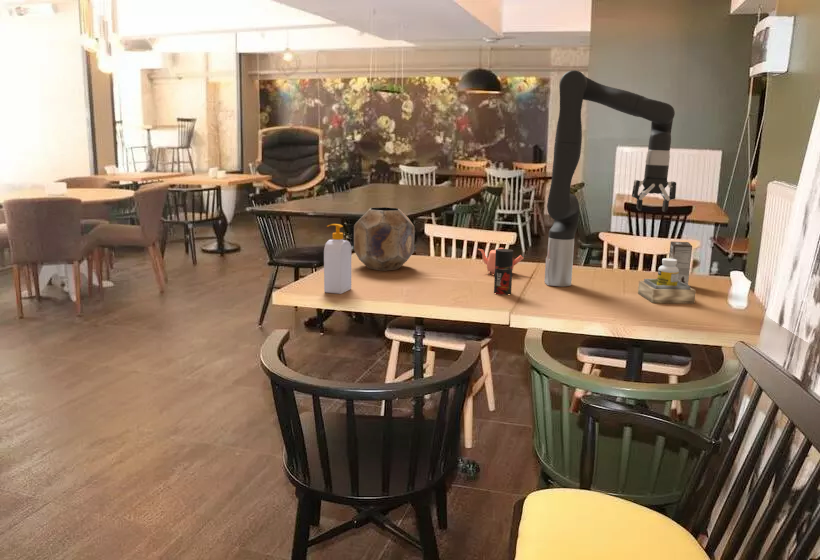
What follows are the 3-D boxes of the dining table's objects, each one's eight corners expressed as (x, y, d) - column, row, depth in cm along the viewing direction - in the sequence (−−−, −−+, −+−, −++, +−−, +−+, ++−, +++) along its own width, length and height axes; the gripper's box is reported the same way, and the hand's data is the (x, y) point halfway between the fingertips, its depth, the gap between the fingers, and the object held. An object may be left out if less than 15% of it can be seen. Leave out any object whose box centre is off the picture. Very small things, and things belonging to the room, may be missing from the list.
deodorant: (512, 292, 236) (514, 249, 233) (509, 295, 231) (511, 252, 228) (495, 290, 238) (497, 248, 235) (492, 294, 233) (494, 251, 229)
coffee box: (665, 283, 256) (670, 241, 253) (683, 284, 255) (688, 241, 252) (669, 288, 247) (674, 244, 244) (688, 289, 246) (693, 245, 243)
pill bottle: (652, 290, 234) (656, 257, 232) (671, 290, 235) (674, 257, 232) (660, 295, 228) (664, 261, 225) (679, 295, 228) (683, 261, 226)
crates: (652, 302, 224) (653, 286, 223) (637, 293, 238) (639, 277, 237) (694, 303, 225) (696, 287, 224) (677, 293, 238) (679, 278, 237)
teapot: (506, 269, 277) (507, 244, 275) (523, 274, 267) (525, 249, 265) (476, 272, 271) (477, 246, 268) (493, 277, 260) (494, 251, 258)
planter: (413, 273, 265) (414, 212, 260) (351, 272, 265) (351, 211, 260) (413, 263, 286) (415, 206, 282) (356, 261, 287) (356, 205, 282)
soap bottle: (333, 287, 239) (333, 222, 234) (351, 288, 237) (351, 223, 232) (322, 292, 230) (321, 225, 226) (340, 294, 228) (340, 226, 223)
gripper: (640, 163, 228) (634, 211, 232) (682, 165, 228) (676, 213, 232) (633, 162, 235) (627, 209, 239) (673, 163, 236) (668, 210, 239)
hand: (651, 211), depth 235 cm, fingers open, 8 cm apart
